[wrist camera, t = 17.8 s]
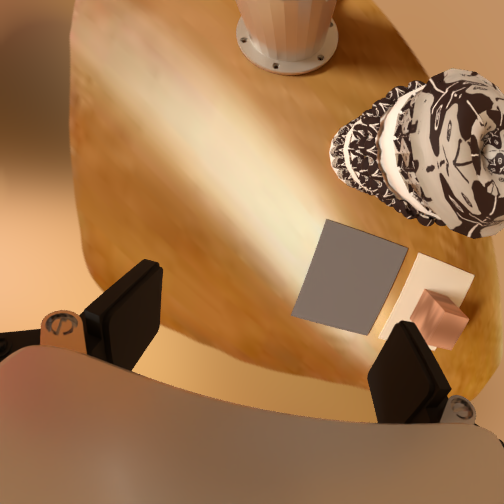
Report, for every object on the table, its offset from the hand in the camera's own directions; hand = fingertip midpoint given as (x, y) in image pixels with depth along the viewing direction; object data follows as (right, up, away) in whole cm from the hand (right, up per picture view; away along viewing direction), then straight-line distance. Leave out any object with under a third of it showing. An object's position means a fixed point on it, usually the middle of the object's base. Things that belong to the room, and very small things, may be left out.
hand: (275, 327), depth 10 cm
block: (+25, -5, +25) cm, 36 cm away
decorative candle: (+13, +15, +21) cm, 28 cm away
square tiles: (+19, -3, +26) cm, 32 cm away
